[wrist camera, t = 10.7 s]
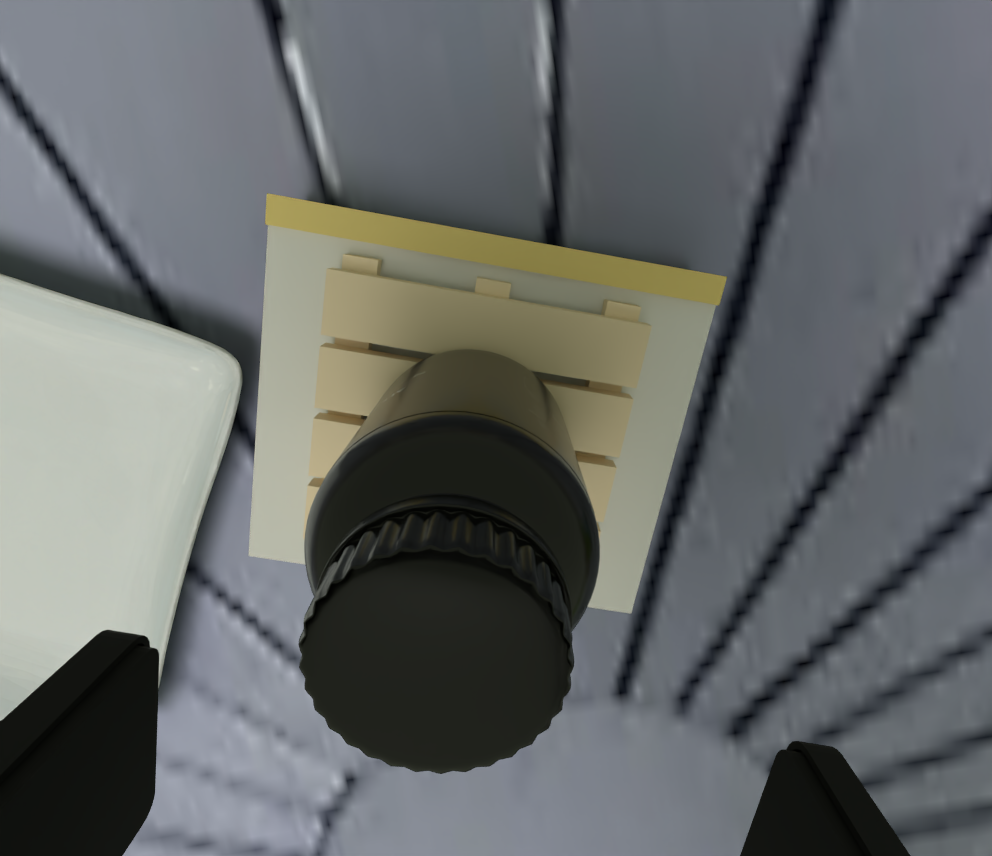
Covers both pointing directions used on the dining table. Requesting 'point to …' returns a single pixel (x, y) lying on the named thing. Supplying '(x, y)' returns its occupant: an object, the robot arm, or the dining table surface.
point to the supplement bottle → (449, 568)
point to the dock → (301, 380)
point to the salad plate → (98, 474)
